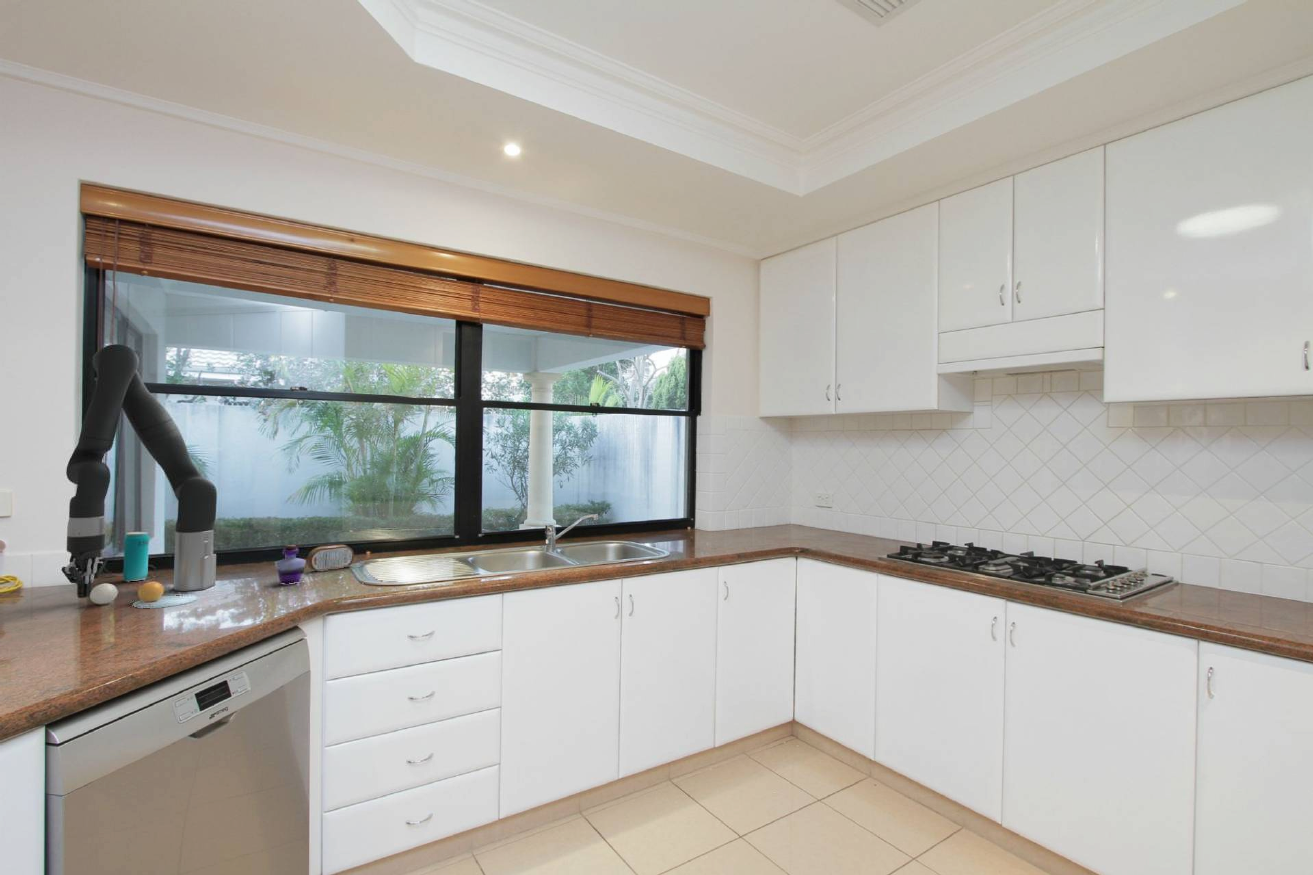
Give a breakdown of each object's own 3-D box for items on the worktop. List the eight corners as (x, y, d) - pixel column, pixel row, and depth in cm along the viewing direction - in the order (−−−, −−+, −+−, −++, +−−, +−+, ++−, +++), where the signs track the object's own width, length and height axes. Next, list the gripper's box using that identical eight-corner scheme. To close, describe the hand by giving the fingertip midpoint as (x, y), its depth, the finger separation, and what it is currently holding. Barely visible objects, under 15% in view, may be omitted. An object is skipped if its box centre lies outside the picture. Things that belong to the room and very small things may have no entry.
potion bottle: (311, 582, 193) (312, 544, 193) (285, 587, 185) (286, 548, 185) (293, 578, 196) (294, 542, 197) (267, 584, 189) (268, 545, 189)
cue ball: (100, 580, 165) (109, 597, 167) (80, 591, 160) (89, 609, 161) (117, 578, 164) (126, 596, 166) (97, 590, 159) (106, 608, 161)
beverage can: (152, 579, 191) (153, 531, 192) (135, 583, 186) (136, 534, 186) (135, 578, 192) (137, 531, 192) (118, 582, 186) (119, 533, 186)
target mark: (208, 594, 175) (208, 594, 175) (177, 608, 161) (177, 607, 161) (154, 595, 173) (154, 594, 173) (118, 609, 159) (118, 608, 159)
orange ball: (143, 595, 168) (163, 601, 169) (129, 600, 163) (150, 607, 164) (151, 576, 169) (171, 583, 169) (137, 581, 163) (158, 588, 164)
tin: (351, 566, 218) (351, 542, 218) (355, 567, 216) (355, 544, 216) (306, 572, 206) (306, 547, 207) (309, 573, 204) (310, 549, 205)
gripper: (82, 537, 158) (80, 603, 158) (119, 529, 171) (117, 591, 171) (49, 537, 157) (47, 603, 157) (89, 529, 170) (87, 591, 170)
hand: (84, 597), depth 164 cm, fingers closed
